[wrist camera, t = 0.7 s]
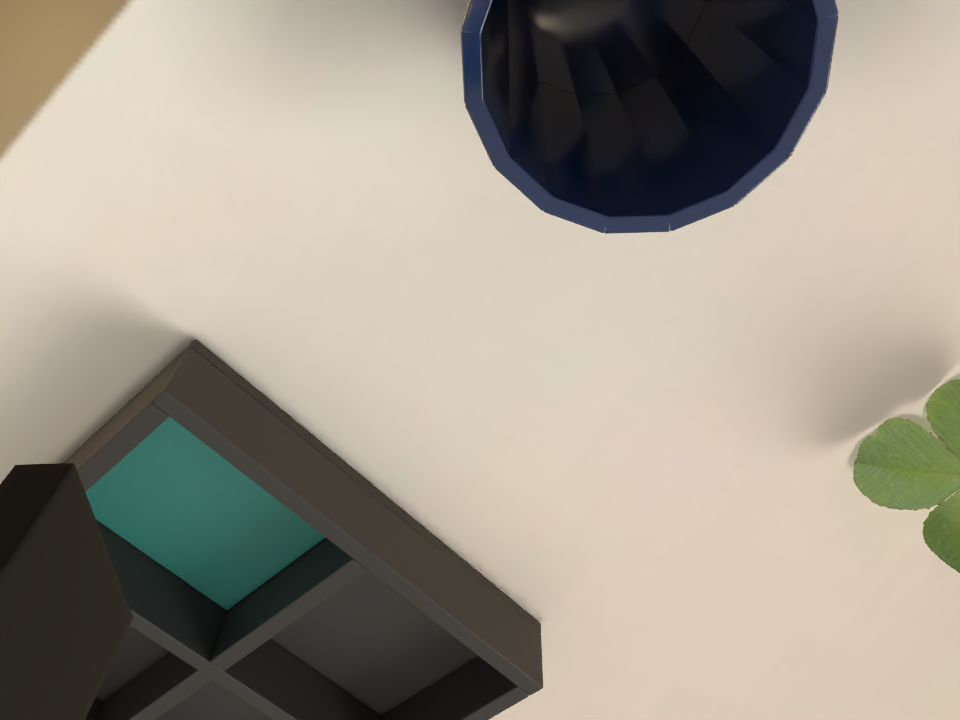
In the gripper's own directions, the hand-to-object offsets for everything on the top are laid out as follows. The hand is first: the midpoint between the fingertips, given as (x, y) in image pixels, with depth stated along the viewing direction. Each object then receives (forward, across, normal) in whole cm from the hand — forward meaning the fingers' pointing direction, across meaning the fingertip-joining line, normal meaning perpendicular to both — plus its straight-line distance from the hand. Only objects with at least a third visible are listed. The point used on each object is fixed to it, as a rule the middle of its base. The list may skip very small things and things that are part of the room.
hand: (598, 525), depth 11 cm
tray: (+20, -15, -22) cm, 33 cm away
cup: (+20, +2, +3) cm, 21 cm away
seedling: (+20, +15, -15) cm, 29 cm away
